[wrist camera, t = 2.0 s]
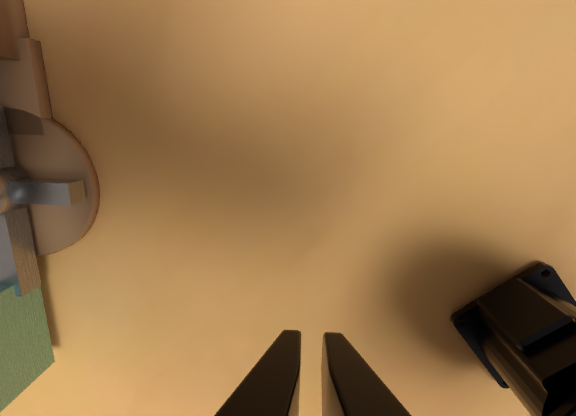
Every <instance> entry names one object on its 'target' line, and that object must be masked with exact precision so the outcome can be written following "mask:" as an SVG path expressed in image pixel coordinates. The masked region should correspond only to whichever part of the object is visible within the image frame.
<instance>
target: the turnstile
mask: <svg viewBox="0 0 576 416" xmlns="http://www.w3.org/2000/svg"><path fill="white" fill-rule="evenodd" d="M83 201H86V197H85V190H84V183H83V180H72V179H43V178H30V177H29V175H28V174H27V173H26V172H25V171H24V170H23V169H21V168H20V167H18V166H16V165H15V162H14V157H13V152H12V147H11V142H10V137H9V132H8V126H7V121H6V116H5V111H4V106H0V412H1V411H2V410H3V409H4V408H5V407H7V406H8V405H9V404H10V403H11V402H12V401H13V400H14V399H15V398H16V397H17V396H18V395H19V394H20V393H21V392H23V391H24V390H25V389H26V388H27V387H28V386H29V385H30V384H31V383H32V382H33V381H34V380H35V379H36V378H38V377H39V376H40V375H41V374H42V373H43V372H44V371H45V370H46V369H47V368H48V367H49V366H50V365H51V364H52V363H54V362H55V360H54V355H53V350H52V344H51V339H50V334H49V329H48V324H47V319H46V313H45V308H44V303H43V298H42V293H41V288H40V286H41V280H40V274H39V269H38V264H37V259H36V254H35V249H34V243H33V238H32V233H31V228H30V223H29V217H28V212H27V207H28V206H29V205H30V204H44V205H70V206H71V205H74V204H77V203H80V202H83Z"/></svg>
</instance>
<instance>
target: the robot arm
mask: <svg viewBox="0 0 576 416" xmlns="http://www.w3.org/2000/svg"><path fill="white" fill-rule="evenodd" d="M543 270H545V272H544V273H543V274H541V272H542V271H543ZM459 319H463V320H462V321H460V322H458V320H459ZM451 322H452V323H453V325H454V326H455V327H456V329H457V330H458V331H459V333H460V334H461V335H462V337H463V338H464V339H465V341H466V342H467V343H468V345H469V346H470V347H471V348H472V350H473V351H474V352H475V354H476V355H477V356H478V358H479V359H480V360H481V362H482V363H483V364H484V366H485V367H486V368H487V369H488V371H489V372H490V373H491V375H492V376H493V377H494V379H495V380H496V381H497V383H498V384H499V385H500V386H501V387H502V388H510V389H511V390H512V391H513V392H514V394H515V395H516V396H517V398H518V399H519V400H520V402H521V403H522V404H523V405H524V407H525V408H526V409H527V411H528V412H529V413H530V414H531V416H576V301H575V300H574V298H573V297H572V295H571V294H570V292H569V291H568V289H567V288H566V286H565V285H564V283H563V282H562V280H561V279H560V277H559V276H558V274H557V273H556V271H555V270H554V268H553V267H551V266H550V265H548V264H546V263H538V264H536V265H534V266H533V267H531V268H529V269H528V270H526V271H524V272H523V273H521V274H519V275H518V276H516V277H514V278H513V279H511V280H509V281H507V282H506V283H504V284H502V285H501V286H499V287H497V288H496V289H494V290H492V291H491V292H489V293H487V294H485V295H484V296H482V297H480V298H479V299H477V300H475V301H474V302H472V303H470V304H469V305H467V306H465V307H464V308H462V309H460V310H458V311H457V312H455V313H454V314H453V315H452V316H451ZM300 363H301V332H300V331H298V330H284V331H282V333H281V334H280V335H279V336H278V337H277V339H276V340H275V341H274V342H273V344H272V345H271V346H270V347H269V349H268V350H267V351H266V352H265V354H264V355H263V356H262V357H261V358H260V360H259V361H258V362H257V363H256V365H255V366H254V367H253V368H252V370H251V371H250V372H249V373H248V375H247V376H246V377H245V378H244V380H243V381H242V382H241V383H240V384H239V386H238V387H237V388H236V389H235V391H234V392H233V393H232V394H231V396H230V397H229V398H228V399H227V401H226V402H225V403H224V404H223V405H222V407H221V408H220V409H219V410H218V412H217V413H216V414H215V415H214V416H298V413H299V388H300ZM321 376H322V416H411V415H410V414H409V412H408V411H407V410H406V409H405V408H404V406H403V405H402V404H401V403H400V402H399V401H398V399H397V398H396V397H395V396H394V395H393V393H392V392H391V391H390V390H389V389H388V388H387V386H386V385H385V384H384V383H383V382H382V380H381V379H380V378H379V377H378V376H377V374H376V373H375V372H374V371H373V370H372V369H371V367H370V366H369V365H368V364H367V363H366V361H365V360H364V359H363V358H362V357H361V356H360V354H359V353H358V352H357V351H356V350H355V348H354V347H353V346H352V345H351V344H350V343H349V341H348V340H347V339H346V338H345V337H344V335H343V334H341V333H333V332H325V333H324V335H323V347H322V364H321Z"/></svg>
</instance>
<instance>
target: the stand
mask: <svg viewBox="0 0 576 416" xmlns="http://www.w3.org/2000/svg"><path fill="white" fill-rule="evenodd" d="M0 106H4V111H5V116H6V121H7V126H8V132H9V137H10V142H11V147H12V152H13V157H14V162H15V165H16V166H18V167H20V168H21V169H23V170H24V171H25V172H26V173H27V174H28V175H29V177H30V178H43V179H72V180H83V183H84V190H85V197H86V201H83V202H80V203H77V204H74V205H71V206H70V205H44V204H30V205H29V206H28V207H27V212H28V217H29V223H30V228H31V233H32V238H33V243H34V249H35V254H36V256H43V255H49V254H52V253H56V252H58V251H60V250H62V249H64V248H66V247H68V246H70V245H72V244H74V243H75V242H77V241H78V240H80V239H81V238H82V237H83V236H84V235H85V234H86V233H87V232H88V230H89V229H90V228H91V226H92V224H93V222H94V220H95V218H96V215H97V212H98V207H99V197H100V194H99V183H98V178H97V174H96V171H95V168H94V166H93V164H92V161H91V159H90V157H89V155H88V154H87V152H86V150H85V149H84V147H83V146H82V145H81V143H80V142H79V141H78V140H77V138H76V137H75V136H74V135H73V134H72V133H71V132H70V131H69V130H67V129H66V128H65V127H64V126H63V125H61V124H60V123H58V122H57V121H55V120H54V119H52V113H51V107H50V101H49V95H48V88H47V82H46V76H45V70H44V63H43V57H42V51H41V45H40V42H39V41H36V40H33V39H29V35H28V29H27V23H26V17H25V11H24V5H23V0H0Z"/></svg>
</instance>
